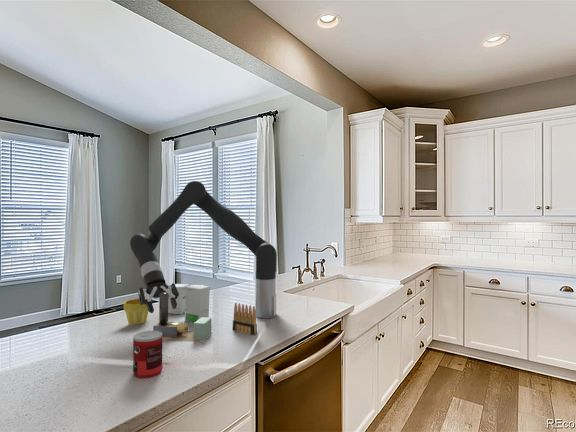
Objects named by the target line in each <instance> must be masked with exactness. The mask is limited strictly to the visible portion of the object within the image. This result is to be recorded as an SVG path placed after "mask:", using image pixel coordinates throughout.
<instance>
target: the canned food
mask: <svg viewBox="0 0 576 432" xmlns="http://www.w3.org/2000/svg"><path fill="white" fill-rule="evenodd" d="M132 338H133V339H132V372H133V375H134V377H136V378H138V379H139V378H140V379H148V378H154V377H155V376H157V375H160V374H161V372H162V369H163V340H162V333H161V332H159V331H153V330H145V331H141V332H137V333H136V334H134V335H133V337H132Z"/></svg>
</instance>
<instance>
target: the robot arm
mask: <svg viewBox="0 0 576 432" xmlns="http://www.w3.org/2000/svg"><path fill="white" fill-rule="evenodd" d="M193 205H195V206H196V207H198V208H199V209H200V210H202V211H203V212H204V213H205V214H207V216H209V218H210V219H211V220H212V221H213V222H214V223H215V224H217V226H218V227H219V228H221V230H223V231H224V232H225V233H226V234H228V235H229V236H230V237H231V238H232V239H235V240H236V241H238V242H239V243H241V244H242V245H244V246H245V247H246V248H247V249H249V250H250V252H251V253H253V255H254V256H255V305H254V306H255V313H256V318H260V319H270V318H272V319H274V318H276V315H277V293H276V292H277V291H276V290H277V289H276V287H277V286H276V285H277V283H276V278H277V250H276V248H275V247H274V245H272V244H271V243H269V242H268V241H266V240H265V239H263V238H262V237H261V236H259V235H258V234H257V233H256V232H254V230H252V228H251V227H250V226H249V225H248V224H247V223H246V222H245V221H244V219H242V218H241V217H240V216H239V215H238V214H236V213H235V212H234V211H233V210H232V209H230V208H229V207H227V206H225V205H224V204H222V203H220V202H219V201H217V200H216V199H215V198H214V197H213V196H212V195H211V194H210V193H209V192H208V191H207V190H206V186H205V185H204V183H202V182H201V181H198V180H192V181H190V182H189V181H188V182H187V184H186V185H185V187H184V188H183V189H182V191H181V192H180V193H179V195H178V196H177V198H175V200H174V201H173V202H172V203H171V204H169V206H168V207H167V208H166V209H165V210H164V211H163V212H161V214H160V215H158V217H157V218H155V220H153V221H152V222H151V224H150V225H148V229H147V230H148V231H149V236H146V235H145V234H143V233H136V234H133V236H132V237H131V238H130V241H129V245H130V249H131V251H132V253H133V254H134V257H135V259H136V260H137V261H138V264H139V268H140V274H141V278H142V280H143V283H144V287H145V288H144V287H139V290H137V295H138V298H139V300H140V304H141V305H143V304H146V305H147V309H148V313H150V314H153V313H154V312H155V308H154V305H153V302H152V299H157V298H158V299H159V293H163V292H167V293H168V299H169V300H170V302H171V305H172V308H173V309H175V308H176V306H177V302H176V299H177V298H178V296H179V293H178V291H177V288H176V286H175V284H176V283H174V282H173V283H171V284H170V285H168V284H167V283H166V279H165V276H164V274H163V270H162V267H161V265H160V264H159V263H160V262H159V261H158V258H157V255H156V254H155V253H154V251H155V250H156V248H157V247H158V245H159V243H160V241H161V240H162V239H163V237H164V235H165V234H167V233H168V231H170V230H171V229H172V227H173V226H174V225H175V224H176V223H177V221H178V220H179V219H180V218H181V217H182V215H183V214H184V213H185V212H186V211H187V210H188V209H189V208H190V207H191V206H193ZM168 289H170V291H171V292H172V293H171V292H170V291H169V290H168ZM145 293H146V294H147V295H148V298H147V299H148V300H147V299H145V298H146V296H145Z"/></svg>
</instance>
